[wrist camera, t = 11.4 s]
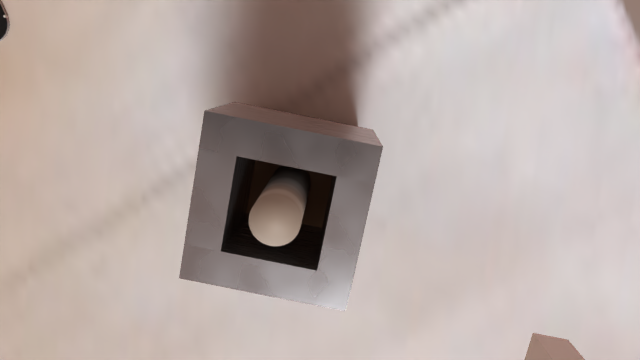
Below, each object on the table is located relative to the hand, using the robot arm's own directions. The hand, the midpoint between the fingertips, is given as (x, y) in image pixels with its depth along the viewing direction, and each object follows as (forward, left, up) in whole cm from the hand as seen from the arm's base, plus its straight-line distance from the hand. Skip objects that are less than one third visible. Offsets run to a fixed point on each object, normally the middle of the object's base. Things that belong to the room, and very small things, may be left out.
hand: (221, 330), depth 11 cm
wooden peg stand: (0, 0, -20) cm, 20 cm away
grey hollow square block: (0, 0, -16) cm, 16 cm away
